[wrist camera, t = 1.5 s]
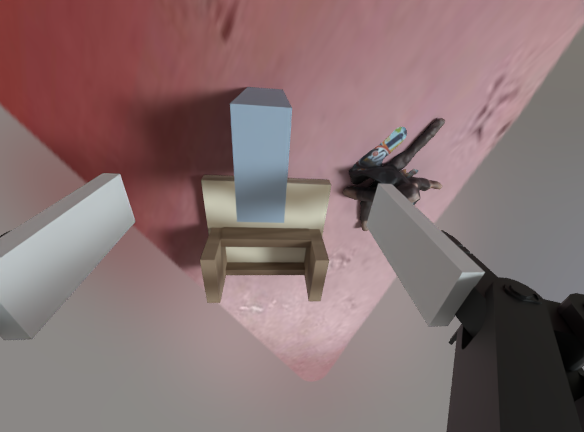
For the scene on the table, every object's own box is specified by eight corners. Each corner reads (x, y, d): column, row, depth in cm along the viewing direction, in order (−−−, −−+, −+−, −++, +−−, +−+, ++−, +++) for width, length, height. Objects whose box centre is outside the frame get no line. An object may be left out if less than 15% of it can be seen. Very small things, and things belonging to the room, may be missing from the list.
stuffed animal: (338, 231, 33) (370, 188, 22) (331, 171, 37) (355, 109, 26) (419, 231, 34) (489, 189, 23) (404, 172, 37) (458, 112, 26)
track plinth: (204, 174, 28) (184, 206, 21) (328, 179, 29) (344, 211, 23) (215, 262, 35) (203, 305, 29) (314, 262, 37) (323, 303, 30)
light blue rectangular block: (246, 86, 23) (228, 103, 13) (283, 89, 24) (293, 108, 14) (248, 164, 28) (235, 221, 17) (279, 165, 28) (285, 222, 18)
